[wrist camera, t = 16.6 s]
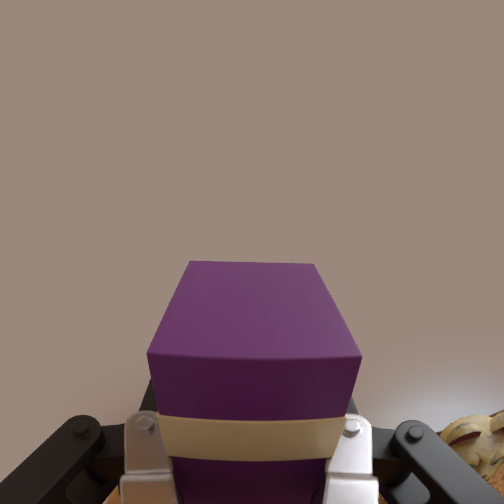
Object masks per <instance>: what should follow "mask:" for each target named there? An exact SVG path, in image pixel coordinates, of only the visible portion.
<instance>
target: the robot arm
mask: <svg viewBox="0 0 504 504" xmlns="http://www.w3.org/2000/svg"><path fill="white" fill-rule="evenodd" d="M157 412H158V408H157V403H156V399H155V394H154V389H153V384H152V380H151V379H150V382H149V385H148V387H147V390H146V393H145V395H144V398H143V401H142V404H141V407H140V409H139V412H136V413H134V414H132V415H131V416H130V417H129V418H128V419H127V420H126V422H125V423H124V424H120V425H109V426H100V423H99V422H98V421H97V420H96V419H95V418H93V417H91V416H87V415H79V416H74V417H72V418H70V419H68V420H67V421H66V422H65V423H64V424H63V425H62V426H61V427H60V428H59V429H58V430H56V431H55V432H54V433H53V434H52V435H51V436H50V437H49V438H48V439H47V440H46V441H45V442H44V443H43V444H42V445H40V446H39V447H38V448H37V449H36V450H35V451H34V452H33V453H32V454H31V455H30V456H29V457H28V458H26V460H24V461H23V462H22V463H21V464H20V465H19V466H18V467H17V468H16V469H15V470H14V471H13V472H12V473H10V474H9V475H8V476H7V477H6V478H5V479H4V480H3V481H2V482H1V483H0V504H102V503H103V502H104V501H105V500H106V498H107V497H108V496H109V495H110V493H111V492H112V491H113V490H114V488H115V487H116V486H117V485H118V483H119V482H120V498H121V504H185V501H184V496H183V493H182V490H181V489H180V488H179V485H178V482H177V479H176V474H175V468H174V463H173V460H172V456H168V455H167V453H166V450H165V446H164V443H163V439H162V435H161V432H160V428H159V424H158V420H157ZM346 415H347V420H346V423H345V426H344V429H343V432H342V435H341V437H340V440H339V443H338V445H337V448H336V451H335V453H334V456H333V457H328V458H326V460H325V462H324V465H323V470H322V477H321V482H320V484H319V487H318V489H317V490H316V491H313V493H312V495H311V498H310V504H378V491H379V492H380V494H381V495H382V496H383V497H384V499H385V500H386V501H387V502H388V504H504V497H503V496H501V495H500V494H499V493H498V492H497V491H496V490H495V489H494V488H493V487H492V486H491V485H490V484H489V483H488V482H487V481H486V480H484V479H483V478H482V477H481V476H480V475H479V474H478V473H477V472H476V471H475V470H474V469H473V468H472V467H471V466H470V465H469V464H468V463H467V462H465V461H464V460H463V459H462V458H461V457H460V456H459V455H458V454H457V453H456V452H455V451H454V450H453V449H452V448H451V447H450V446H449V445H448V444H446V443H445V442H444V441H443V440H442V439H441V438H440V437H439V436H438V435H437V434H436V433H435V432H434V431H433V430H432V429H431V428H430V427H429V426H427V425H426V424H424V423H422V422H420V421H416V420H409V421H405V422H402V423H401V424H400V425H398V427H397V428H396V430H391V429H380V428H376V427H372V426H371V425H370V423H369V422H368V421H367V420H366V419H365V418H364V417H362V416H360V415H358V412H357V409H356V407H355V404H354V401H353V399H352V396H351V398H350V402H349V405H348V408H347V411H346Z"/></svg>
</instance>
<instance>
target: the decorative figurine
mask: <svg viewBox="0 0 504 504" xmlns="http://www.w3.org/2000/svg"><path fill="white" fill-rule="evenodd" d="M439 437H440V438H441V439H442V440H443V441H444V442H445V443H446V444H448V445H449V446H450V447H451V448H452V449H453V450H454V451H455V452H456V453H457V454H458V455H459V456H460V457H461V458H462V459H463V460H464V461H465V462H467V463H468V464H469V465H470V466H471V467H472V468H473V469H474V470H475V471H476V472H477V473H478V474H479V475H480V476H481V477H482V478H483V479H484V480H486V481H488V480H489V479H490V478H491V477H492V476H493V474H494V473H495V472H496V471H497V470H498V469H499V467H500V466H501V465H503V463H504V412H503V413H500V414H498V415H496V416H495V417H493V418H491V417H488V416H484V415H472V416H468V417H464V418H461V419H458V420H457V421H455V422H453V423H451V424H450V425H449V426H447V427H446V428H445V429H444V430H443V432H442V433H441V434H440V436H439Z"/></svg>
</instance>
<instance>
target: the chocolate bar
mask: <svg viewBox="0 0 504 504" xmlns="http://www.w3.org/2000/svg"><path fill="white" fill-rule="evenodd" d="M147 358H148V364H149V369H150V374H151V380H152V384H153V389H154V394H155V399H156V403H157V408H158V412H157V420H158V424H159V428H160V432H161V435H162V439H163V443H164V446H165V450H166V453H167V455H168V456H172V460H173V463H174V468H175V474H176V479H177V482H178V485H179V488H180V489H181V490H182V493H183V496H184V501H185V504H310V498H311V495H312V493H313V491H316V490H317V489H318V487H319V484H320V482H321V477H322V470H323V465H324V462H325V460H326V458H328V457H333V456H334V453H335V451H336V448H337V445H338V443H339V440H340V437H341V435H342V432H343V429H344V426H345V423H346V420H347V415H346V411H347V408H348V405H349V402H350V398H351V395H352V392H353V388H354V385H355V382H356V378H357V374H358V371H359V367H360V364H361V360H362V354H361V353H360V350H359V348H358V346H357V344H356V343H355V341H354V339H353V337H352V335H351V333H350V331H349V329H348V327H347V325H346V323H345V321H344V319H343V317H342V316H341V314H340V312H339V310H338V308H337V306H336V304H335V302H334V301H333V298H332V297H331V295H330V293H329V291H328V289H327V288H326V285H325V284H324V282H323V280H322V278H321V276H320V274H319V273H318V271H317V269H316V267H315V265H314V264H300V263H298V264H295V263H255V262H217V261H214V262H213V261H190V262H189V264H188V266H187V268H186V270H185V272H184V274H183V276H182V278H181V280H180V282H179V284H178V286H177V288H176V290H175V293H174V295H173V297H172V299H171V301H170V303H169V305H168V307H167V310H166V312H165V314H164V316H163V318H162V320H161V322H160V325H159V327H158V329H157V331H156V333H155V336H154V338H153V340H152V342H151V344H150V347H149V349H148V351H147Z"/></svg>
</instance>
